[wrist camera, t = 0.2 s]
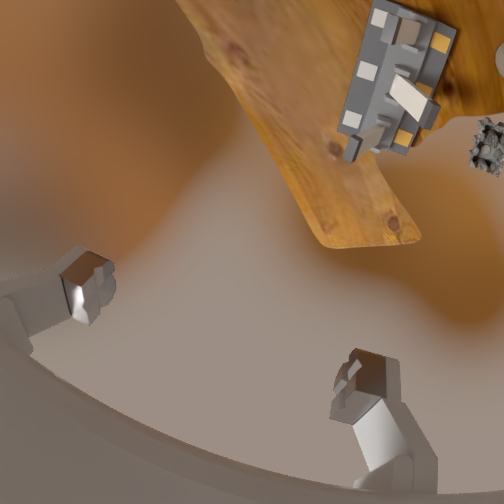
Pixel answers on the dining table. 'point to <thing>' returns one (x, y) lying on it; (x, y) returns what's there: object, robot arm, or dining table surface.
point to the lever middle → (414, 101)
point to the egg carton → (488, 147)
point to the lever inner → (400, 30)
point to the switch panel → (393, 76)
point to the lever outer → (363, 142)
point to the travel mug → (500, 59)
